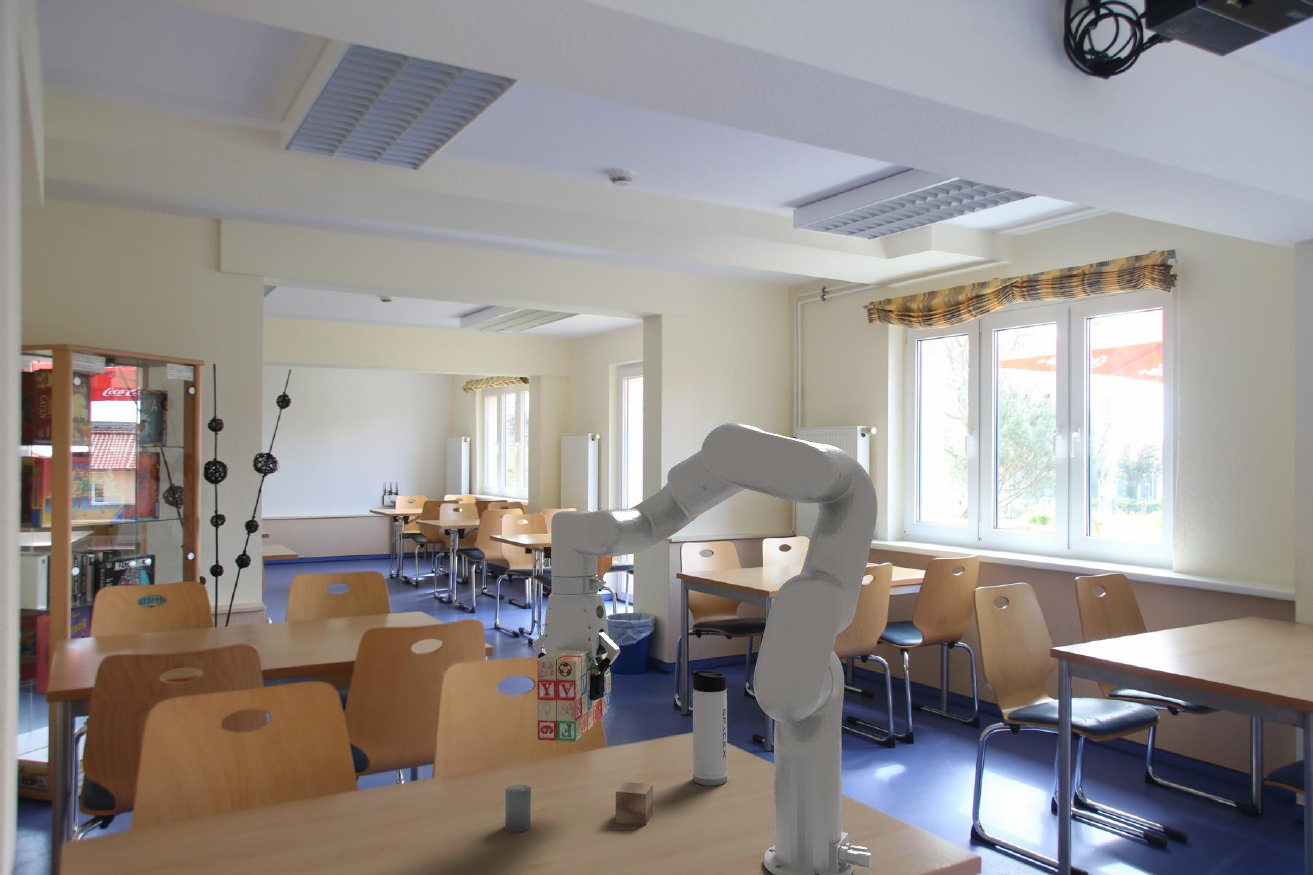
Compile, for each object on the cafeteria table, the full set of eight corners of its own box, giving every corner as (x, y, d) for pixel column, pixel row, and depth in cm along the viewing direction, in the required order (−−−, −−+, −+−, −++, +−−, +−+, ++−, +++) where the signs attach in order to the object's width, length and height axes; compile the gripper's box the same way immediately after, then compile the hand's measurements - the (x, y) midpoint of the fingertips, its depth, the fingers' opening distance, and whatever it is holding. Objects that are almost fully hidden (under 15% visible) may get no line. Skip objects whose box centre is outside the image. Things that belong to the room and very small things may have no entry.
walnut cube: (652, 814, 147) (652, 783, 148) (645, 825, 143) (645, 793, 143) (623, 812, 149) (623, 781, 149) (615, 823, 144) (615, 791, 144)
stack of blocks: (577, 707, 156) (576, 636, 157) (611, 708, 155) (610, 636, 156) (537, 740, 135) (536, 657, 136) (576, 741, 134) (575, 658, 135)
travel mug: (686, 777, 166) (686, 668, 168) (719, 773, 168) (719, 666, 170) (698, 787, 161) (697, 674, 162) (732, 783, 163) (731, 672, 164)
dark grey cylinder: (535, 825, 142) (535, 787, 143) (520, 834, 139) (521, 794, 139) (515, 821, 144) (515, 783, 145) (499, 829, 141) (500, 790, 141)
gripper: (632, 586, 145) (633, 696, 144) (543, 582, 153) (544, 687, 152) (608, 590, 139) (610, 706, 138) (517, 587, 147) (518, 696, 146)
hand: (575, 695), depth 145 cm, fingers closed on stack of blocks, 7 cm apart
